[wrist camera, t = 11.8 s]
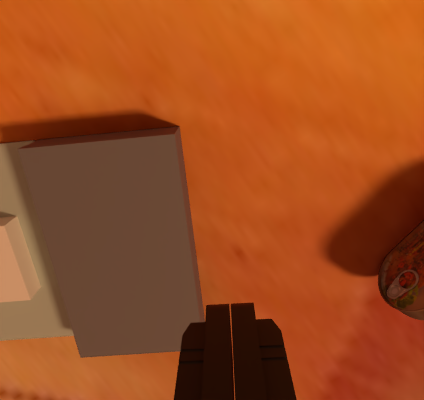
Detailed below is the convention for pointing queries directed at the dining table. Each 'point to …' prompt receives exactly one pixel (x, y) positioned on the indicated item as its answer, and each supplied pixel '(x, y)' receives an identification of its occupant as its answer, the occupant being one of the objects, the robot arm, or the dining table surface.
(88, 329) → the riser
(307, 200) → the dining table surface
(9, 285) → the tile
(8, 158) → the mat
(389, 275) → the tin
